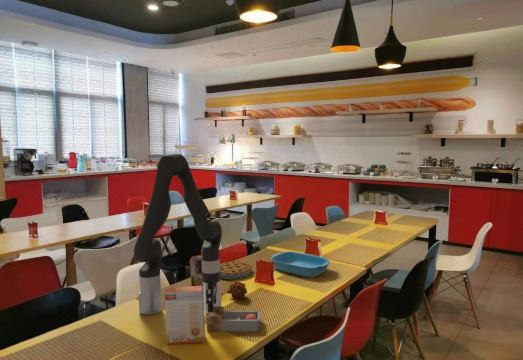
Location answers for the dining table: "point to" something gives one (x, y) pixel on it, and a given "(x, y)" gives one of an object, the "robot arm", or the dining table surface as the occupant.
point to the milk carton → (218, 298)
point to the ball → (251, 317)
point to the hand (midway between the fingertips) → (212, 307)
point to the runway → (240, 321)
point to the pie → (234, 269)
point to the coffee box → (196, 271)
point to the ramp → (215, 319)
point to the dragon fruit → (237, 290)
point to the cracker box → (185, 315)
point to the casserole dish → (300, 263)
